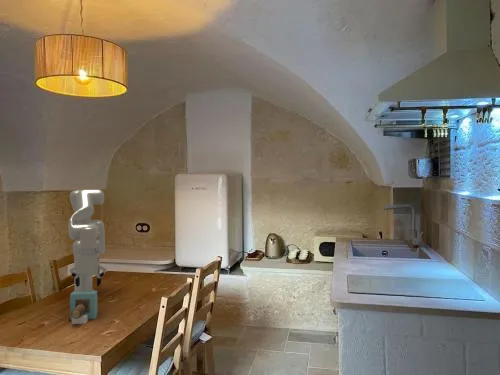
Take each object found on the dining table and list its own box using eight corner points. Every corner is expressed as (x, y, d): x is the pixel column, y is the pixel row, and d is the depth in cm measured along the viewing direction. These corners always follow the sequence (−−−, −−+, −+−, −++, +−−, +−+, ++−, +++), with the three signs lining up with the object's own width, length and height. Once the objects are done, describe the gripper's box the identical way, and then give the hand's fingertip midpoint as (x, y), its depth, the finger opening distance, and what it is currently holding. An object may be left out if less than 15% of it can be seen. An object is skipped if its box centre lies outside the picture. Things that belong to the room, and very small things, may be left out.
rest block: (73, 322, 184) (73, 315, 184) (87, 321, 185) (87, 314, 185) (71, 324, 181) (71, 317, 181) (85, 323, 182) (85, 317, 182)
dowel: (84, 306, 199) (82, 297, 199) (93, 303, 200) (91, 295, 200) (70, 321, 177) (68, 311, 177) (81, 318, 178) (78, 309, 178)
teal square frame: (73, 316, 191) (73, 291, 191) (97, 315, 193) (97, 290, 193) (70, 320, 186) (70, 294, 186) (94, 319, 188) (94, 293, 188)
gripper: (108, 249, 202) (108, 283, 203) (72, 250, 200) (72, 284, 201) (104, 253, 195) (104, 287, 196) (67, 253, 193) (67, 288, 193)
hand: (88, 285), depth 198 cm, fingers open, 9 cm apart
